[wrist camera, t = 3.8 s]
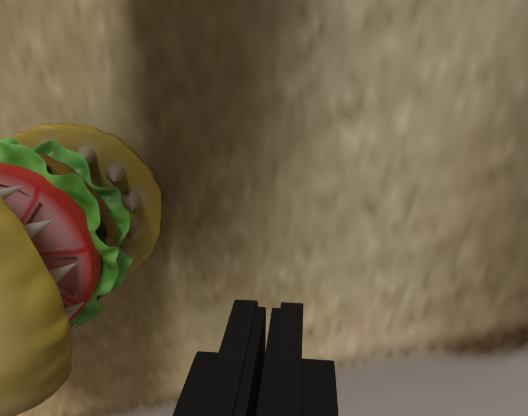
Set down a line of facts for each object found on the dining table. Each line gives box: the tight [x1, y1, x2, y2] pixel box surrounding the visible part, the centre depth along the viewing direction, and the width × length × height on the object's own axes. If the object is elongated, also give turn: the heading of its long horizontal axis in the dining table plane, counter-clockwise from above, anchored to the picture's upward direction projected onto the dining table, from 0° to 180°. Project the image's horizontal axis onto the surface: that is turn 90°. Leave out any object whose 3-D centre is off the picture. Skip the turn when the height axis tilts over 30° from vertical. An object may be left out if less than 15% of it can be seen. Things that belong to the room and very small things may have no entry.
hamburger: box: [0, 123, 162, 416], centre depth 14 cm, size 8×7×12 cm
